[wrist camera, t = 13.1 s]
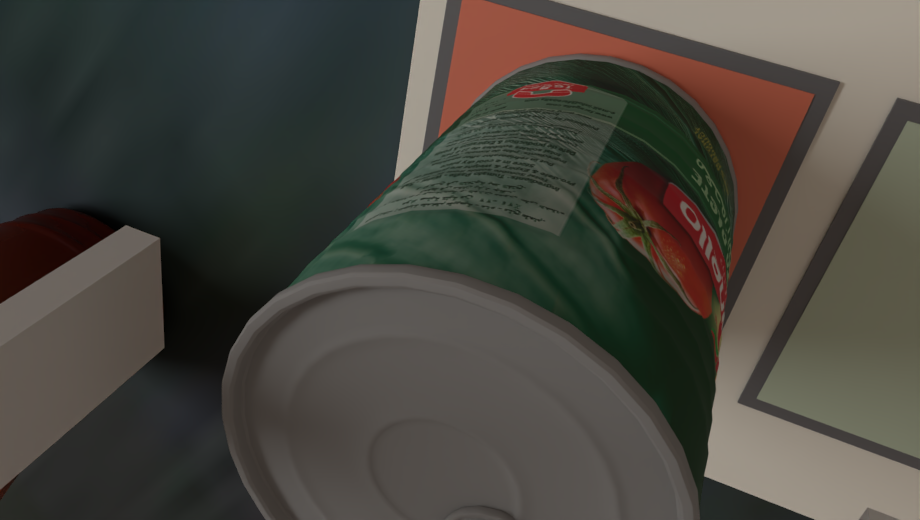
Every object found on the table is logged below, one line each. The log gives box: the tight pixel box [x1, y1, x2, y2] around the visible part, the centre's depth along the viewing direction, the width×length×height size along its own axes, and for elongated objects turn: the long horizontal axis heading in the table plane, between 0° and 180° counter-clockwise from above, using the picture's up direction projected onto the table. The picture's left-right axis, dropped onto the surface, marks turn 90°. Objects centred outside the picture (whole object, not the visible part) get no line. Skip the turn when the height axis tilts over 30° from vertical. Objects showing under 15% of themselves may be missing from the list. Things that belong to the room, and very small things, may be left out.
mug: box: [0, 208, 165, 500], centre depth 26 cm, size 12×9×10 cm
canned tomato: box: [222, 53, 738, 520], centre depth 16 cm, size 8×8×11 cm
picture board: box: [394, 0, 920, 520], centre depth 20 cm, size 16×22×1 cm
